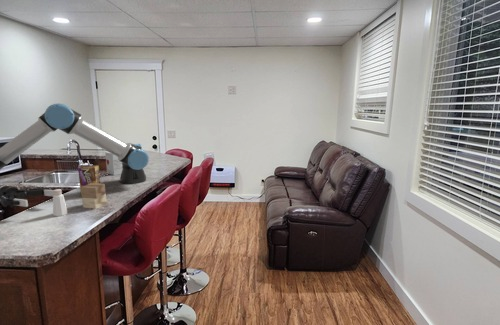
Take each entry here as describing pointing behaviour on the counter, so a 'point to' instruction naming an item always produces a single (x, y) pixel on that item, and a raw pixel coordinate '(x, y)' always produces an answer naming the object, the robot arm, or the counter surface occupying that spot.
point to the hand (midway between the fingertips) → (42, 198)
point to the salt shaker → (59, 203)
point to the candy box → (88, 175)
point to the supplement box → (113, 164)
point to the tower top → (93, 190)
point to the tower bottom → (94, 202)
